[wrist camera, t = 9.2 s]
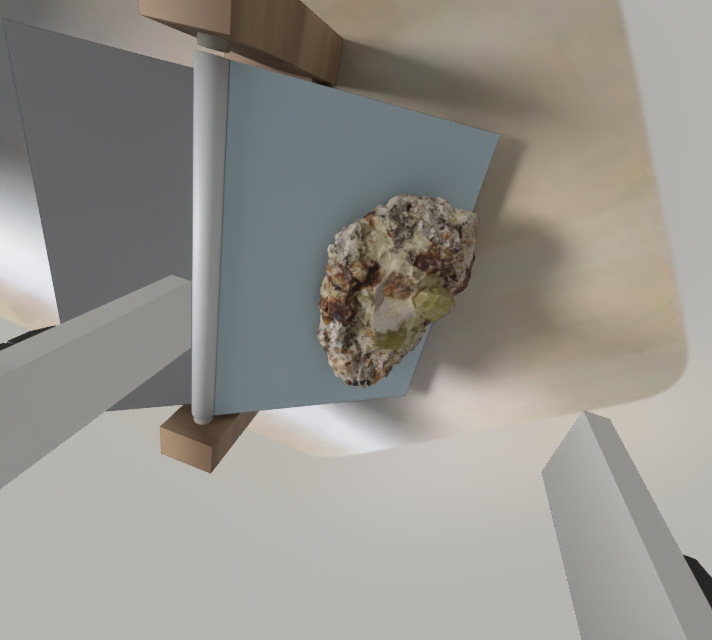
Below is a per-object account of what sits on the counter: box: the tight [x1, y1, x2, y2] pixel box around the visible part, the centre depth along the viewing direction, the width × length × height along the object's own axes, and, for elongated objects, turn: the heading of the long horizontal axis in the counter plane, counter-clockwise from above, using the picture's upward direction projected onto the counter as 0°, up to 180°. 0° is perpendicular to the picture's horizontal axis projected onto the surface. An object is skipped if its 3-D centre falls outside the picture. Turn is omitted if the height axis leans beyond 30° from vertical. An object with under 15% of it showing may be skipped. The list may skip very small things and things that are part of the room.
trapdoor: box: [3, 19, 500, 419], centre depth 20 cm, size 18×16×8 cm
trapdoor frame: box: [138, 0, 343, 473], centre depth 19 cm, size 6×21×10 cm, turn 167°
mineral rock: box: [316, 193, 479, 388], centre depth 18 cm, size 11×4×8 cm
